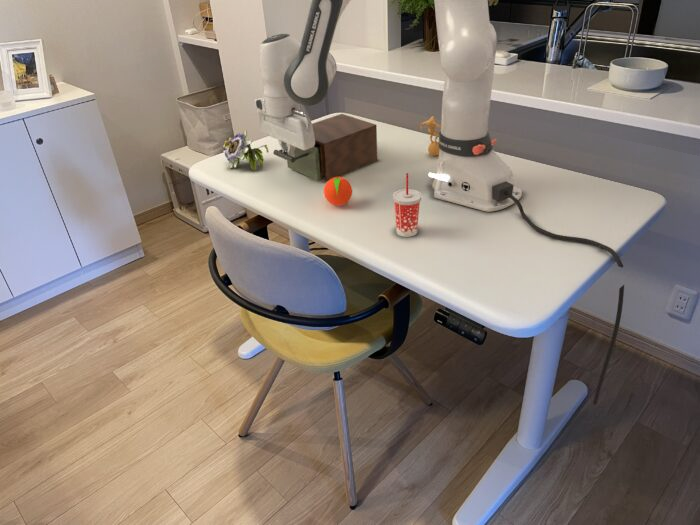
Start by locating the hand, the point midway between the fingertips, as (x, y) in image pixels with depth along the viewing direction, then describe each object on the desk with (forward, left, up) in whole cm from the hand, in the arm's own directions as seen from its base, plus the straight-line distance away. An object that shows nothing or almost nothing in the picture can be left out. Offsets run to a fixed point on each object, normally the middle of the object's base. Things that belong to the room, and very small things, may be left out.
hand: (288, 156), depth 144 cm
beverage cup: (-41, -2, -7) cm, 42 cm away
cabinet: (0, -16, -7) cm, 17 cm away
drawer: (0, -9, -6) cm, 11 cm away
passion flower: (+19, +2, -7) cm, 20 cm away
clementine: (-20, 0, -7) cm, 21 cm away
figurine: (-17, -38, -7) cm, 42 cm away
